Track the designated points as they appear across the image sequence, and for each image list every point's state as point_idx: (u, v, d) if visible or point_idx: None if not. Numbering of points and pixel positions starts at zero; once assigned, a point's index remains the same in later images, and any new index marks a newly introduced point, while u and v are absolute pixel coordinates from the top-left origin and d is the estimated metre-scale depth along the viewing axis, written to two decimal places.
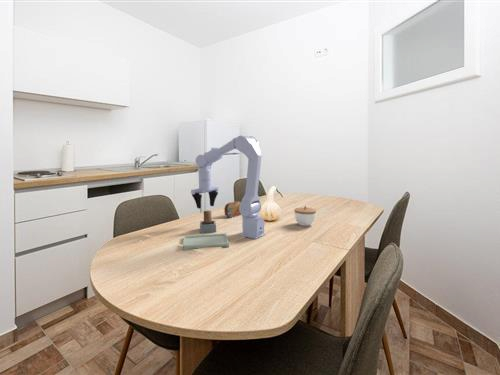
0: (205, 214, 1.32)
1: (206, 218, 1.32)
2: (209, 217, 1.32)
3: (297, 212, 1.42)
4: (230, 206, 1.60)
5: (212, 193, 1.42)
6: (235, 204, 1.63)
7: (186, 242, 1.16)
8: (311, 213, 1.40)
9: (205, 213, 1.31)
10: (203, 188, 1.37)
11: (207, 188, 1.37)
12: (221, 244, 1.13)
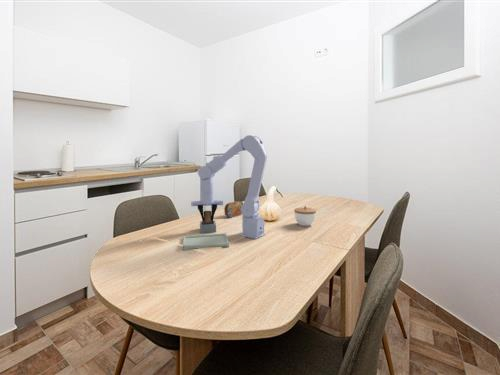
0: (205, 214, 1.32)
1: (206, 218, 1.32)
2: (209, 217, 1.32)
3: (297, 212, 1.42)
4: (230, 206, 1.60)
5: (211, 207, 1.32)
6: (235, 204, 1.63)
7: (186, 242, 1.16)
8: (311, 213, 1.40)
9: (205, 213, 1.31)
10: (202, 201, 1.30)
11: (206, 201, 1.29)
12: (221, 244, 1.13)
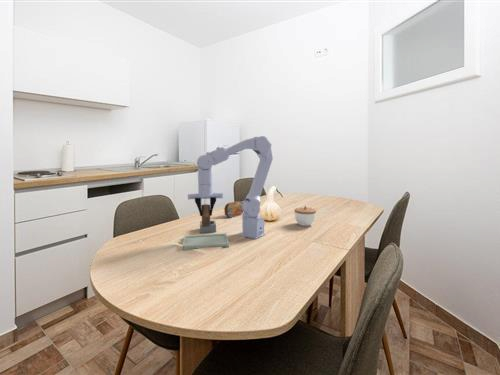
0: (203, 208, 1.20)
1: (204, 212, 1.20)
2: (207, 211, 1.21)
3: (297, 212, 1.42)
4: (230, 206, 1.60)
5: (210, 200, 1.21)
6: (235, 204, 1.63)
7: (186, 242, 1.16)
8: (311, 213, 1.40)
9: (203, 207, 1.20)
10: (200, 193, 1.19)
11: (204, 194, 1.18)
12: (221, 244, 1.13)
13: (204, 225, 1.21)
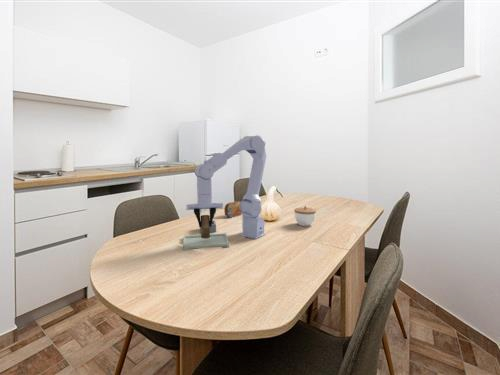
0: (202, 219, 1.15)
1: (203, 223, 1.15)
2: (207, 222, 1.16)
3: (297, 212, 1.42)
4: (230, 206, 1.60)
5: None
6: (235, 204, 1.63)
7: (186, 242, 1.16)
8: (311, 213, 1.40)
9: (203, 217, 1.15)
10: (199, 204, 1.14)
11: (203, 204, 1.13)
12: (221, 244, 1.13)
13: (203, 237, 1.16)
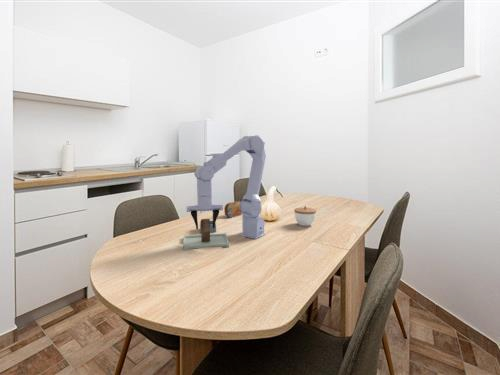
0: (202, 223, 1.16)
1: (204, 227, 1.16)
2: (207, 226, 1.16)
3: (297, 212, 1.42)
4: (230, 206, 1.60)
5: (213, 212, 1.16)
6: (235, 204, 1.63)
7: (186, 242, 1.16)
8: (311, 213, 1.40)
9: (203, 221, 1.16)
10: (199, 206, 1.14)
11: (203, 206, 1.13)
12: (221, 244, 1.13)
13: (204, 240, 1.17)
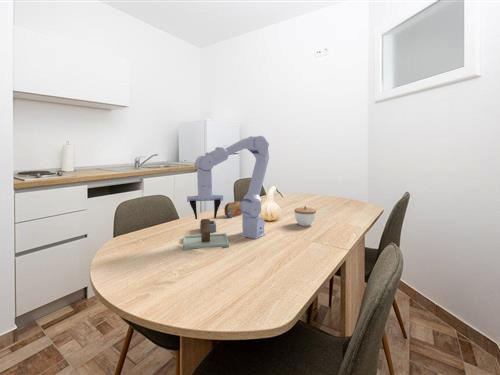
0: (202, 223, 1.16)
1: (204, 227, 1.16)
2: (207, 226, 1.16)
3: (297, 212, 1.42)
4: (230, 206, 1.60)
5: (214, 202, 1.16)
6: (235, 204, 1.63)
7: (186, 242, 1.16)
8: (311, 213, 1.40)
9: (203, 221, 1.15)
10: (199, 195, 1.14)
11: (204, 196, 1.13)
12: (221, 244, 1.13)
13: (204, 241, 1.17)
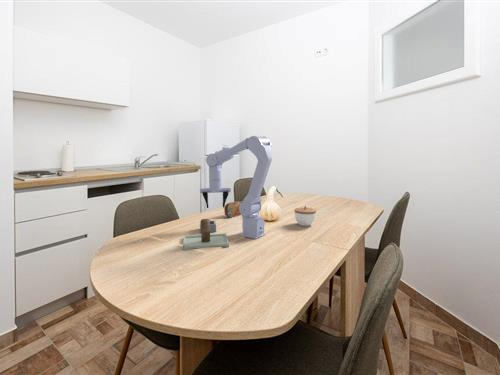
0: (202, 223, 1.16)
1: (204, 227, 1.16)
2: (207, 226, 1.16)
3: (297, 212, 1.42)
4: (230, 206, 1.60)
5: (223, 194, 1.37)
6: (235, 204, 1.63)
7: (186, 242, 1.16)
8: (311, 213, 1.40)
9: (203, 221, 1.15)
10: (211, 188, 1.34)
11: (214, 188, 1.34)
12: (221, 244, 1.13)
13: (204, 241, 1.17)
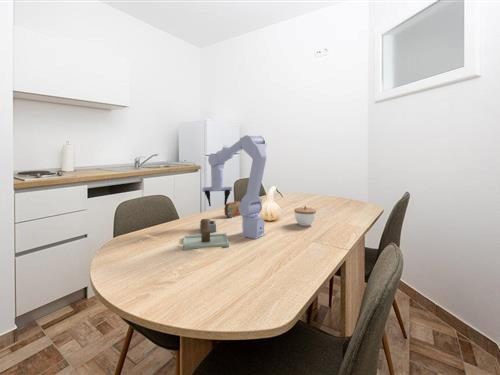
0: (202, 223, 1.16)
1: (204, 227, 1.16)
2: (207, 226, 1.16)
3: (297, 212, 1.42)
4: (230, 206, 1.60)
5: (225, 192, 1.41)
6: (235, 204, 1.63)
7: (186, 242, 1.16)
8: (311, 213, 1.40)
9: (203, 221, 1.15)
10: (213, 187, 1.39)
11: (216, 187, 1.38)
12: (221, 244, 1.13)
13: (204, 241, 1.17)
